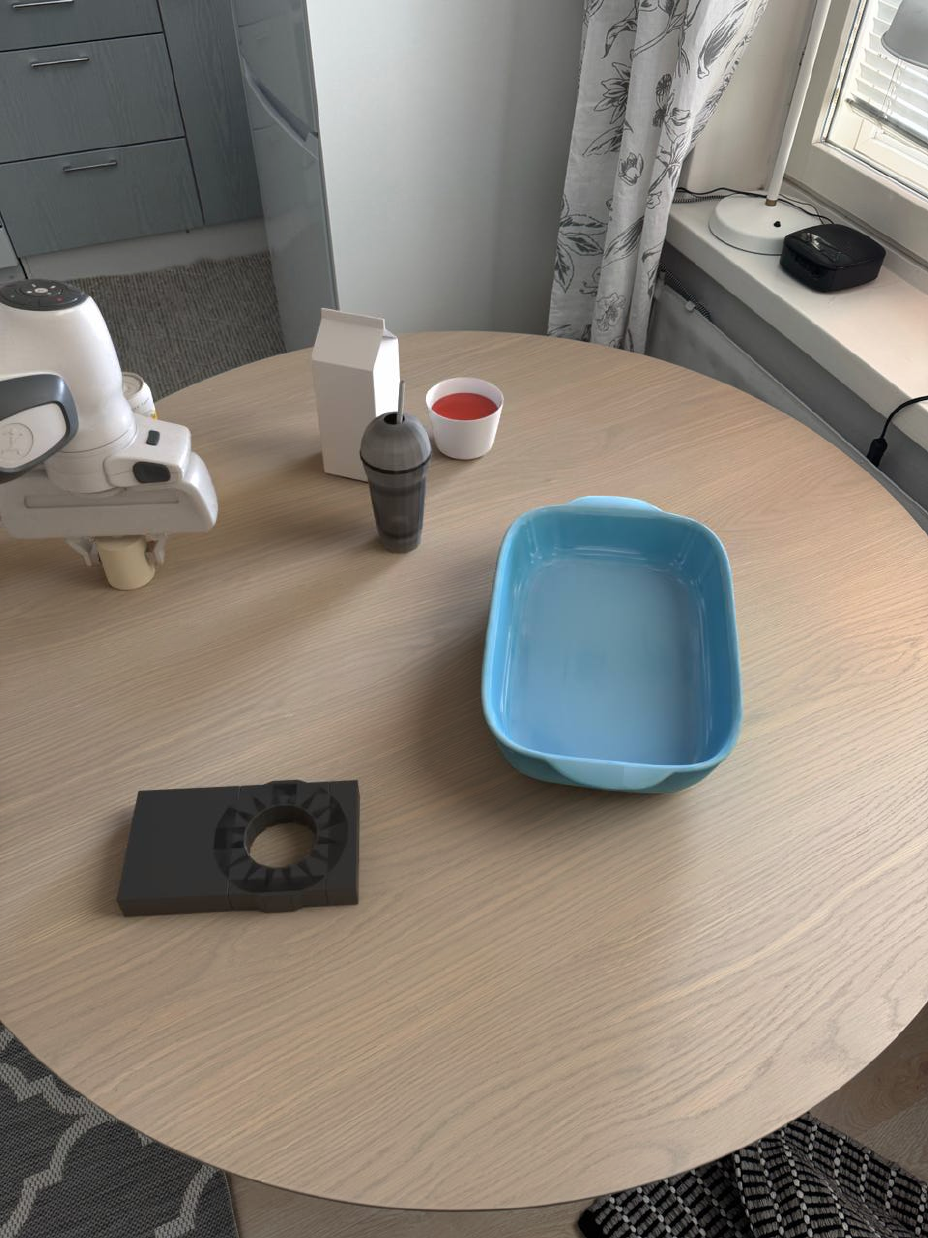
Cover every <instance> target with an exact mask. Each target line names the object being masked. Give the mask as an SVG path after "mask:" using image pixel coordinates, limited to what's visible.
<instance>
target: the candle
mask: <svg viewBox="0 0 928 1238" xmlns="http://www.w3.org/2000/svg"><path fill="white" fill-rule="evenodd" d="M425 404H426V409H427V412H428V417H429V421H430V426H431V430H432V434H433V439H434V443H435V445H436V447H437V449H438V451H439V452H440V453H442V454H444V455H445V456H446V457H449V458H451V459H456V460H473V459H477V458H480V457H483V456H484V455H486V454H488V453H489V451H491V449H492V448H493V445H494V442H495V437H496V434H497V430H498V427H499V422H500V418H501V414H502V410H503V406H504V395H503V392H502V391H501V390H500V389H499V388H498V387H497V386H496V385H494V384H493V383H491V382H489V381H486V380H483V379H479V378H476V377H454V378H449V379H445V380H443V381H440V382H438V383H436V384H435V385H433V386H432V387H431V388H430V389H429V390H428V391H427V393H426V396H425Z"/></svg>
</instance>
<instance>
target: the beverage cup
mask: <svg viewBox="0 0 928 1238" xmlns="http://www.w3.org/2000/svg"><path fill="white" fill-rule="evenodd" d="M405 385H406V381H405V380H401V379H400V382H399V396H398V411H392V412H386V413H383V414H381V415H379V416H377V417H376V418H375V419H374V420H373V421H372V422H371V423H370V424H369V425H368V426H367V428H366V429H365V432H364V434H363V437H362V440H361V448H360V452H359V453H360V459H361V461H362V463H363V467H364V470H365V473H366V475H367V477H368V482H367V483H368V487H369V493H370V498H371V503H372V504H371V505H372V510H373V515H374V521H375V526H376V532H377V534H378V539H379V544H380V545H381V547H382V548H383V549H385V550H386V551H387V552H390V553H393V554H396V553H397V554H403V553H409V552H411V551H414V550H416V549H417V548H418V546H420V544H421V542H422V534H423V529H424V517H425V506H426V505H425V504H426V503H425V502H426V492H427V491H426V490H427V478H428V472H429V468H430V464H431V458H432V455H433V448H432V445H431V442H430V438H429V434H428V432H427V430H426V428H425V426H424V425H423V424H422V423H421V422H420V421H419V420H418V419H417V418H416V417H414V416H412V415H411V414H409V413H407V412H404V401H405Z"/></svg>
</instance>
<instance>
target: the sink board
mask: <svg viewBox="0 0 928 1238" xmlns="http://www.w3.org/2000/svg"><path fill="white" fill-rule="evenodd" d="M360 815H361V794H360V786H359V780H357V779H348V780H330V781H329V780H328V781H310V782H309V781H305V780H301V779H283V780H281V779H280V780H270V781H268V782H266V783H264V784H247V785H245V784H243V785H228V786H226V785H225V786H208V787H207V786H206V787H188V788H187V787H185V788H166V789H165V788H164V789H146V790H145V789H144V790H143V789H142V790H138V791H137V795H136V800H135V805H134V811H133V815H132V821H131V825H130V826H131V827H130V831H129V835H128V840H127V846H126V850H125V855H124V859H123V865H122V870H121V875H120V880H119V886H118V891H117V896H116V903H117V905H118V908H119V909H120V911H121V914H122V915H123V917H124V918H128V917H129V918H130V917H145V916H161V915H162V916H164V915H165V916H166V915H182V914H183V915H184V914H202V913H218V912H222V913H223V912H240V911H243V912H244V911H260V912H263V913H266V914H271V913H290V912H297V911H298V910H301V909H303V908H311V907H312V908H313V907H314V908H317V907H328V906H329V907H334V906H348V905H349V906H351V905H359V901H360V900H359V899H360V898H359V897H360V894H359V893H360V891H359V890H360V829H361V827H360V825H361V824H360V822H361V821H360V818H361V817H360ZM281 823H283V824H284V823H296V824H299V825H303V826H306V827H307V828H308V829H309V830H311V831H312V833H314V834H315V836H316V839H315V842H314V845H313V846H312V848H311V850H310V851H309V852H308V853H307V854H306V855H305V856H304V857H303V858H302V859H300V860H299V861H297V862H294V863H291V864H289V865H286V866H277V867H271V866H268V865H265V864H261V863H258V861H256V859H254V858H253V857H252V856H251V848H252V846H253V844H254V842H255V841H256V839H257V837H258V836H259V835H260V834H262V833H263V832H265V830H267V829H268V828H270V827H272V826H276V825H278V824H281Z"/></svg>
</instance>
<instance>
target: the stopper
mask: <svg viewBox="0 0 928 1238" xmlns="http://www.w3.org/2000/svg"><path fill="white" fill-rule="evenodd" d="M93 541H94V542H93V543H95V545H96V547H97V550H98V553H99V556H100V559H101V562H102V568H103V571H104V572H105V573H104V574H105V577H106V579H107V582H108V583H109V585H110V586H111V587H113V588H114V589H117V590H121V591H131V590H137V589H140V588H142V587H144V586H145V585H147V584H148V583H150V581H152V579H153V577H154V576H155V574H156V568H155V564H148V562H147V560H148V559H147V558H146V555H145V550H146V548H147V542H148V540H147V537H146V535H122V536H95V537H93Z"/></svg>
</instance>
